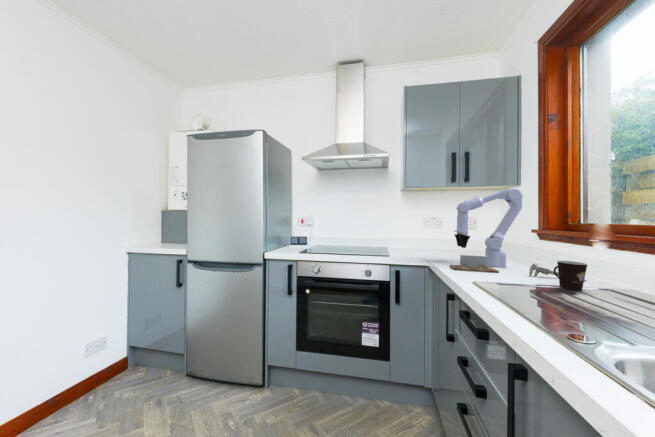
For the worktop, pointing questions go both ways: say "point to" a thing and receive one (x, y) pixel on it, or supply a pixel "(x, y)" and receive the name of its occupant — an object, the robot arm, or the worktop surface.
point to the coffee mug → (571, 274)
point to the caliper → (541, 270)
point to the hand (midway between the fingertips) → (461, 246)
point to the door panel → (473, 260)
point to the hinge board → (466, 268)
